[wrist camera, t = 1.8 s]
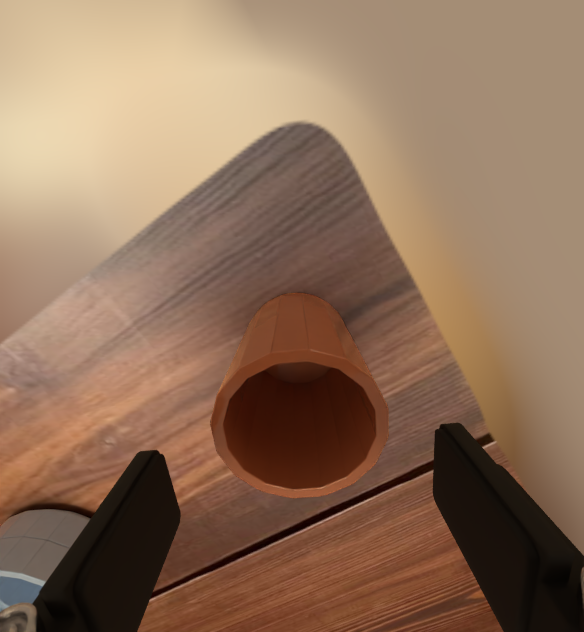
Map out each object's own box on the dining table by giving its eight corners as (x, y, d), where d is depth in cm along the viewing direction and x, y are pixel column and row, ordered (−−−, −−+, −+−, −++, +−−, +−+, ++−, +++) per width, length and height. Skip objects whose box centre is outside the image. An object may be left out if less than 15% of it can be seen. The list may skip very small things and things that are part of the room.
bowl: (-20, 507, 24) (-97, 576, 19) (107, 497, 24) (60, 565, 19) (30, 593, 28) (-24, 669, 23) (142, 585, 27) (110, 661, 22)
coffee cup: (240, 298, 19) (194, 359, 10) (343, 287, 18) (388, 340, 10) (255, 388, 21) (228, 504, 12) (348, 379, 20) (389, 491, 12)
